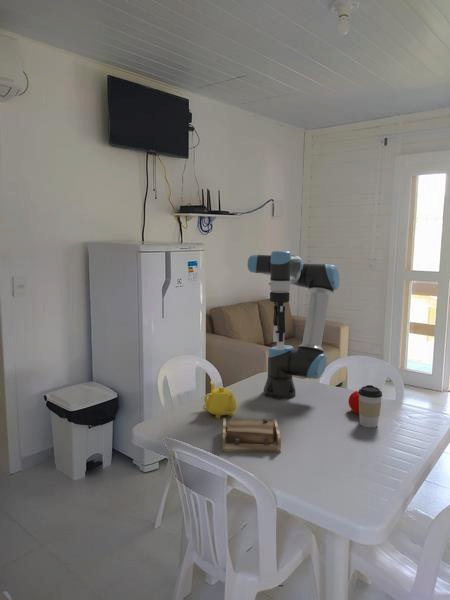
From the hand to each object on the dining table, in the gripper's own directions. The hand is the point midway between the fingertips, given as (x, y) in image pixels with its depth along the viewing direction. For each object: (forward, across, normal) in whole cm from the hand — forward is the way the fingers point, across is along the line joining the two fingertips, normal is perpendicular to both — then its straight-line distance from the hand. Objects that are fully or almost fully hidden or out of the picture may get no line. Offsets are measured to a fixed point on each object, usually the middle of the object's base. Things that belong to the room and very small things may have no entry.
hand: (278, 345), depth 175 cm
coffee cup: (+32, -1, +37) cm, 49 cm away
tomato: (+32, -13, +38) cm, 51 cm away
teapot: (+32, -9, -23) cm, 40 cm away
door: (+31, +17, -11) cm, 37 cm away
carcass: (+32, +17, -11) cm, 38 cm away
